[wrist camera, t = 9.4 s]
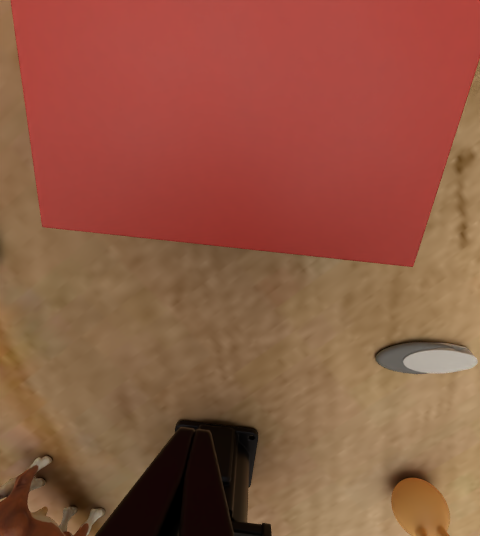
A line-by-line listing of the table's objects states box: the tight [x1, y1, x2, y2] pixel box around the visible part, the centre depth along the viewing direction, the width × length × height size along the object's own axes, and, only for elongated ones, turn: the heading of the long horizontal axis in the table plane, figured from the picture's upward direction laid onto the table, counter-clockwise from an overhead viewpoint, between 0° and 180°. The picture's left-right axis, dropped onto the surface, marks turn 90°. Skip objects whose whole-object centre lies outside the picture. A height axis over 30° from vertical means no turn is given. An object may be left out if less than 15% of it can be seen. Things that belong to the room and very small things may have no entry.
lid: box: [11, 0, 480, 267], centre depth 11 cm, size 11×15×1 cm
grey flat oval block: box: [376, 342, 477, 374], centre depth 22 cm, size 6×2×1 cm, turn 95°
